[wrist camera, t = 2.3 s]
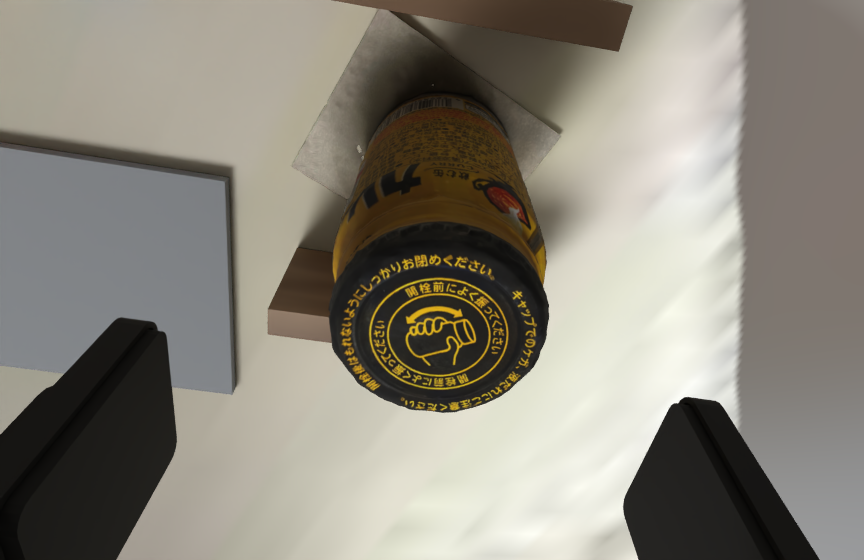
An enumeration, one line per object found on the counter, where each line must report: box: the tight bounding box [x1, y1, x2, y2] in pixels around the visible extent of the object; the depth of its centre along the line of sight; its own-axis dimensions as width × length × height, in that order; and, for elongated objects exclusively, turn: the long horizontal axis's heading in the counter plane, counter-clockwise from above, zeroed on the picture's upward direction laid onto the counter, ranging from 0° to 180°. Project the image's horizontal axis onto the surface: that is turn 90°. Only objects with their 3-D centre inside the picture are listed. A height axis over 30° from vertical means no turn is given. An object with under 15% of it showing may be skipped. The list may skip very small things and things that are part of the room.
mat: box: [0, 142, 235, 395], centre depth 26 cm, size 12×12×1 cm
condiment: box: [292, 9, 561, 413], centre depth 17 cm, size 7×8×12 cm
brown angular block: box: [268, 0, 633, 343], centre depth 20 cm, size 13×10×5 cm
